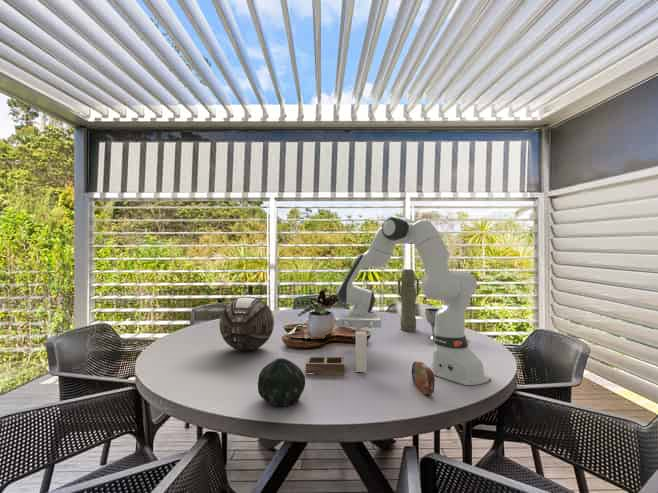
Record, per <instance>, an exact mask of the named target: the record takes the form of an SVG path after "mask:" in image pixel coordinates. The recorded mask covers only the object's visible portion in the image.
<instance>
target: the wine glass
mask: <svg viewBox="0 0 658 493" xmlns="http://www.w3.org/2000/svg"><path fill="white" fill-rule="evenodd" d="M438 310H439V308H431V307H430V308H425V310H424V313H425V314H424V315H425V319H426V321H427V322H428V323H429V325H430V327H431V330H432V332H431V335H429V336H426V337H425V338H426V339H428V340H433V341H434V333H435V314H436V312H437V311H438Z"/></svg>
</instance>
